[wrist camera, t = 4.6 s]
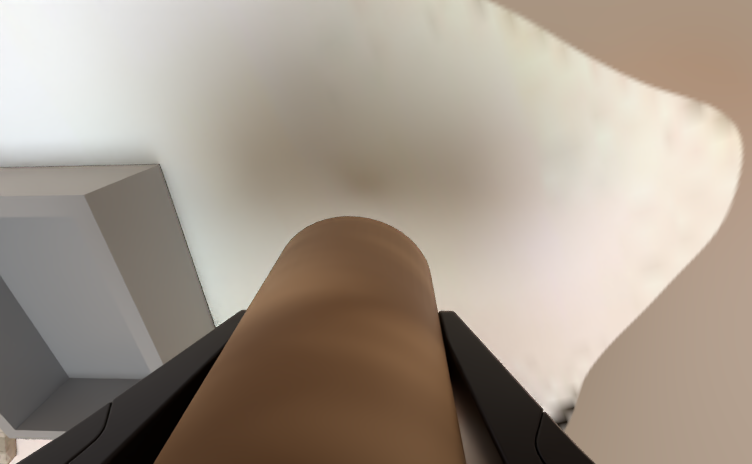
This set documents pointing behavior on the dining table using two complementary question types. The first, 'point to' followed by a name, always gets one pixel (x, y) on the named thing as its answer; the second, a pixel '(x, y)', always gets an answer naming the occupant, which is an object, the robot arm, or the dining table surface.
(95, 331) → the tote
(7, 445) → the packaged product
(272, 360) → the walnut cylinder
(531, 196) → the dining table surface
